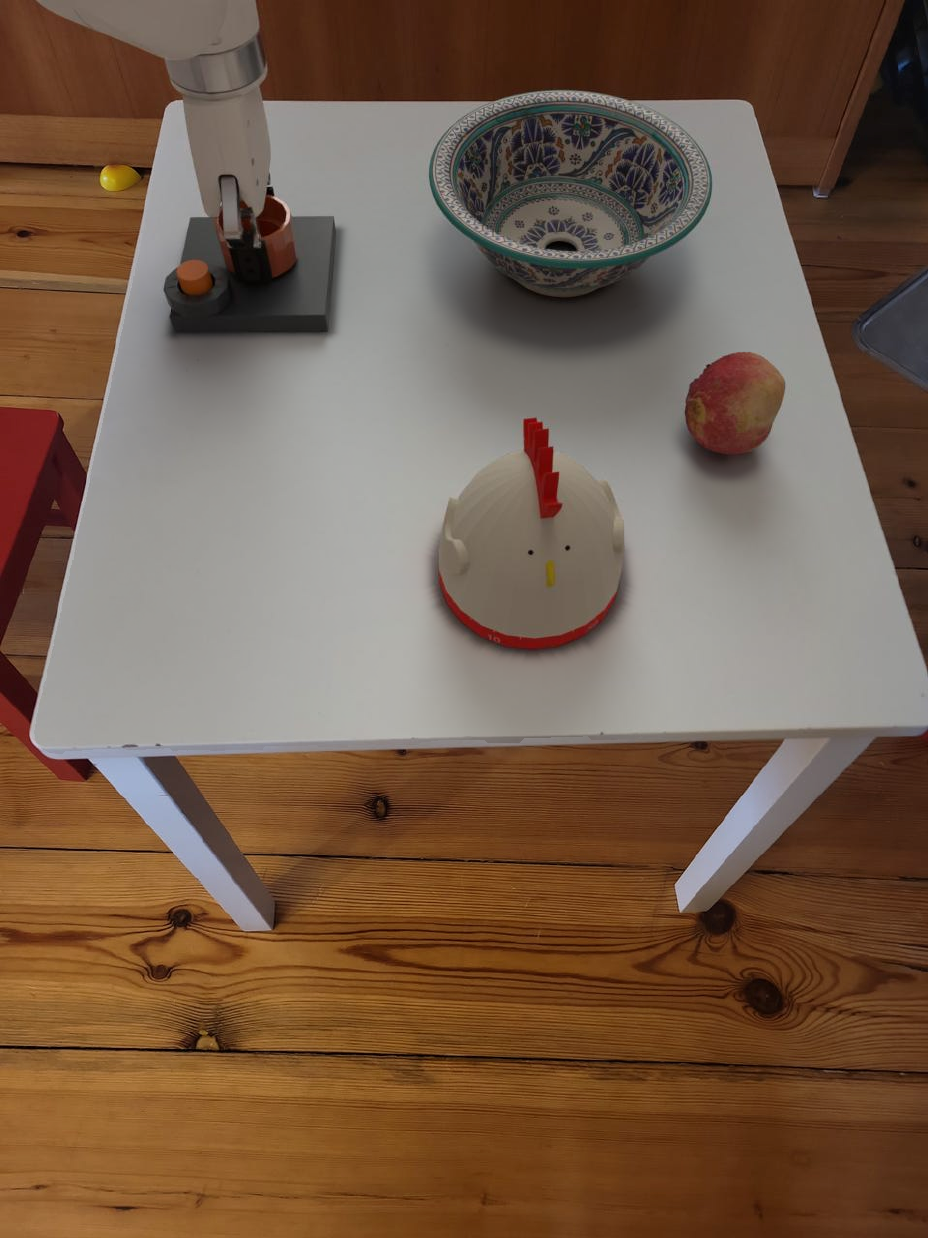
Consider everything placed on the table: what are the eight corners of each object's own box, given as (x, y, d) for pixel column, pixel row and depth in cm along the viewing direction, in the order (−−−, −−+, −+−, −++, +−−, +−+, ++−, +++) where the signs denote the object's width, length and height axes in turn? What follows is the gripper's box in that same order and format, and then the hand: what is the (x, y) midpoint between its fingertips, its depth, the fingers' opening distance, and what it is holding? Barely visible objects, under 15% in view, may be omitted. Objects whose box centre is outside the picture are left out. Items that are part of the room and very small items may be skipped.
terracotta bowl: (221, 284, 84) (209, 241, 80) (229, 236, 87) (218, 193, 83) (295, 284, 84) (287, 241, 80) (300, 236, 87) (293, 192, 83)
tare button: (179, 296, 81) (174, 280, 80) (183, 275, 82) (178, 259, 81) (210, 296, 81) (206, 280, 80) (214, 275, 82) (210, 259, 81)
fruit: (730, 490, 74) (758, 422, 67) (656, 440, 77) (675, 370, 70) (785, 438, 77) (817, 368, 70) (711, 391, 80) (735, 319, 73)
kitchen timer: (452, 660, 66) (450, 540, 53) (427, 510, 73) (420, 371, 60) (638, 635, 67) (680, 512, 54) (596, 490, 74) (625, 350, 61)
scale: (170, 335, 83) (159, 304, 80) (191, 233, 90) (182, 201, 87) (327, 334, 83) (322, 303, 80) (336, 232, 90) (331, 200, 87)
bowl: (692, 193, 94) (714, 101, 86) (685, 366, 81) (711, 277, 73) (453, 170, 96) (452, 77, 87) (410, 335, 83) (405, 245, 75)
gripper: (181, -5, 74) (229, 194, 89) (147, 120, 65) (207, 318, 80) (274, -6, 74) (306, 194, 89) (252, 119, 65) (292, 317, 80)
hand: (259, 251), depth 85 cm, fingers closed on terracotta bowl, 6 cm apart
